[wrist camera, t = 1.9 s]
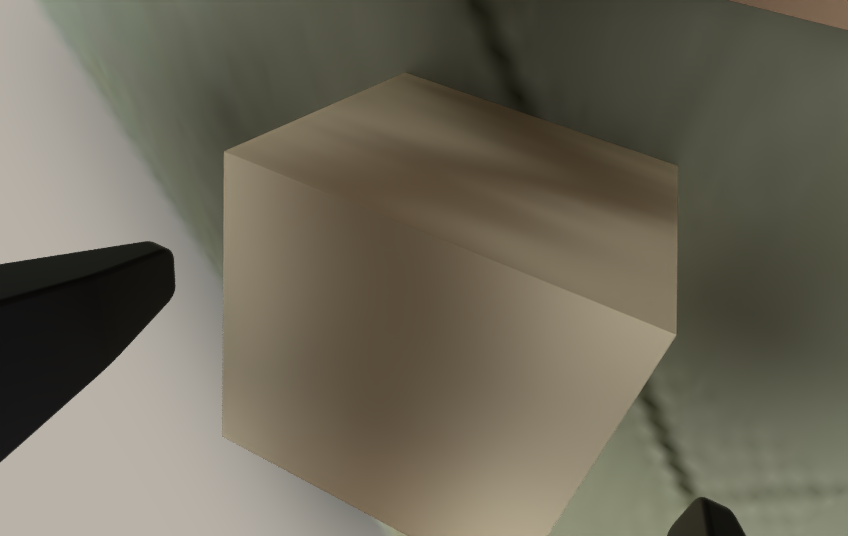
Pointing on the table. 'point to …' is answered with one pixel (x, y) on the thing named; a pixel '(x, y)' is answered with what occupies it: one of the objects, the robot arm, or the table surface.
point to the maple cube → (441, 304)
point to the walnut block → (807, 10)
